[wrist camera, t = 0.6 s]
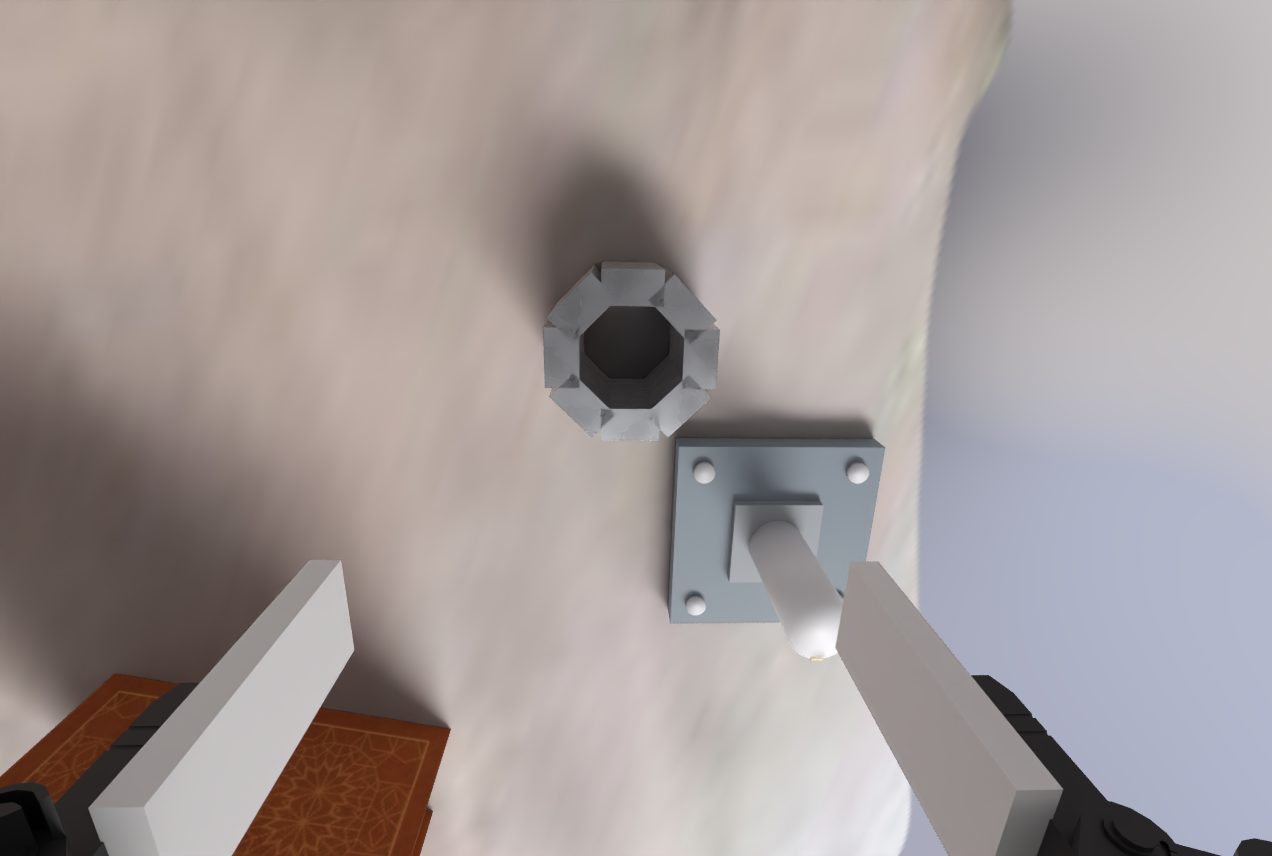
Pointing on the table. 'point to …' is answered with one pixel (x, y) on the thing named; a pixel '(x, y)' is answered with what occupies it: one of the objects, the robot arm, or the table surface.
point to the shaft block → (771, 532)
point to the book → (305, 790)
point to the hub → (630, 401)
